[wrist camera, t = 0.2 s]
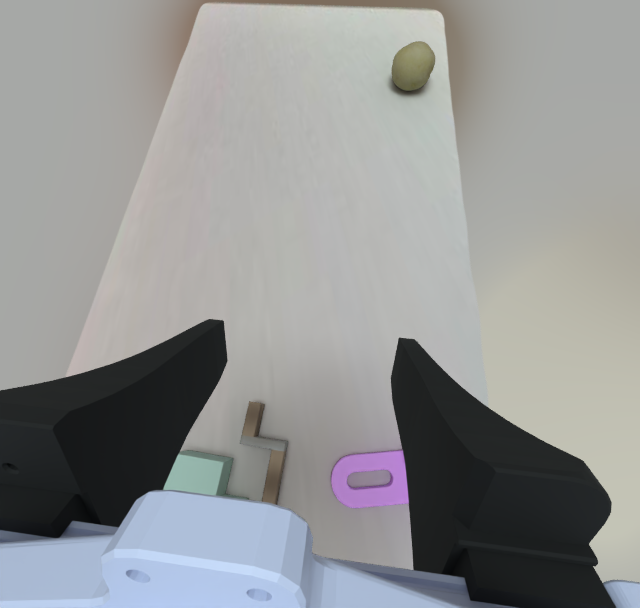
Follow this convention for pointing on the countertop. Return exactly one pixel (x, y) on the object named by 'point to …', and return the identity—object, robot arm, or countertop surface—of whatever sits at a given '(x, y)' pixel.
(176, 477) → the t slider
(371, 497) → the bracket
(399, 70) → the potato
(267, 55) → the countertop surface
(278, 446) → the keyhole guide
